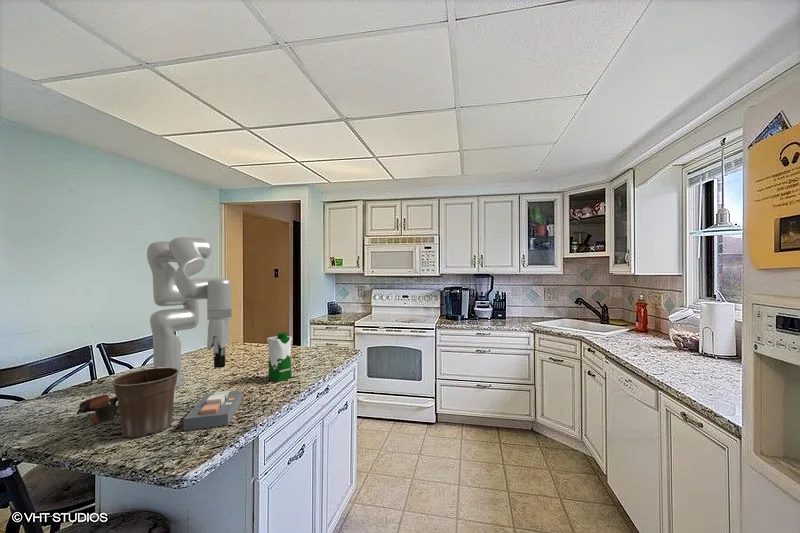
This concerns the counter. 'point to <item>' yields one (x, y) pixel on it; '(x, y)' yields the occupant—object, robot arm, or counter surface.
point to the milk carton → (279, 357)
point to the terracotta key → (210, 409)
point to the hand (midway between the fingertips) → (219, 366)
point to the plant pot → (145, 400)
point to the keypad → (214, 419)
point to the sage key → (223, 393)
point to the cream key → (216, 399)
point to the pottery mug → (99, 408)
